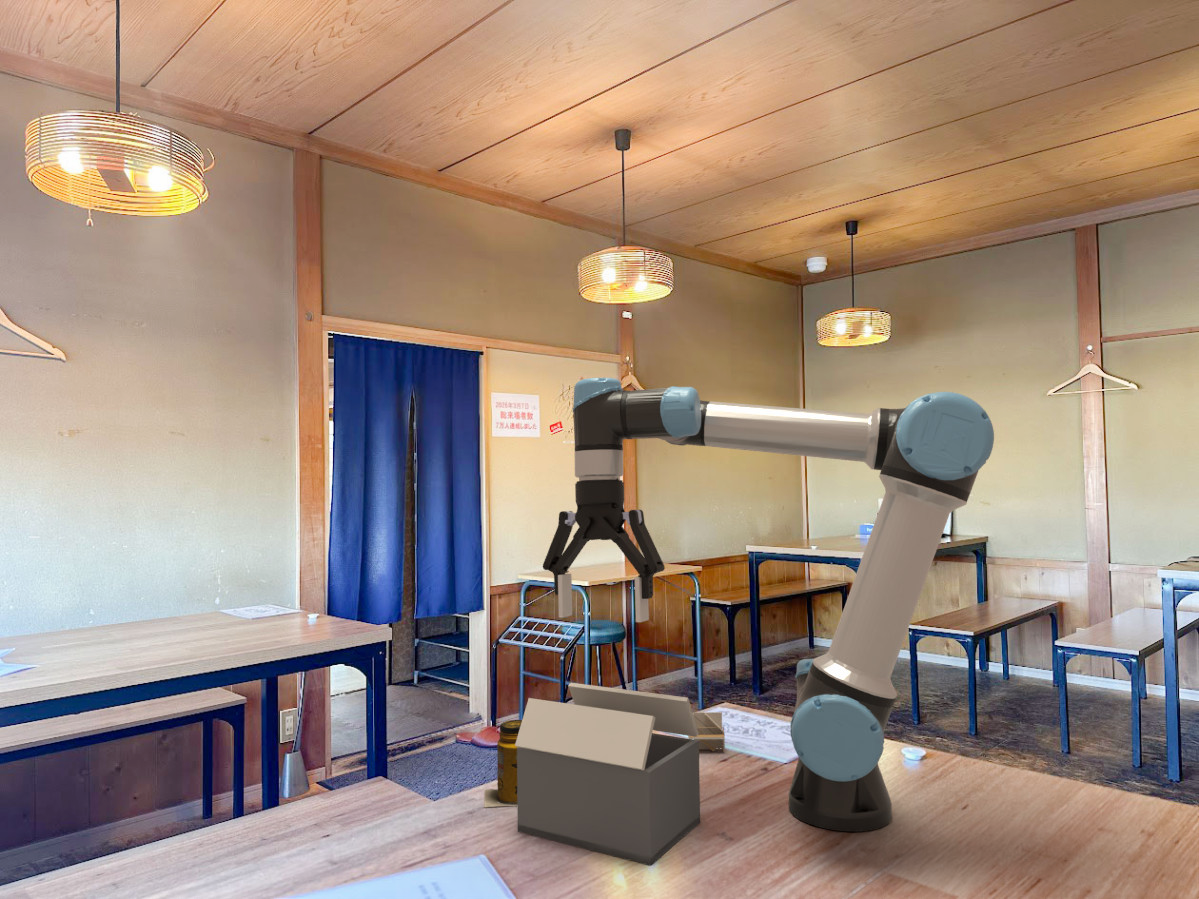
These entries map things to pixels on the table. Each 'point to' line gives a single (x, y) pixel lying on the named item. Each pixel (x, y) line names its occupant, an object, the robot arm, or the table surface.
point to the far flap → (640, 706)
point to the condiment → (505, 767)
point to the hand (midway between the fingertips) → (602, 618)
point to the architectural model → (709, 730)
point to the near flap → (586, 733)
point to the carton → (612, 800)
